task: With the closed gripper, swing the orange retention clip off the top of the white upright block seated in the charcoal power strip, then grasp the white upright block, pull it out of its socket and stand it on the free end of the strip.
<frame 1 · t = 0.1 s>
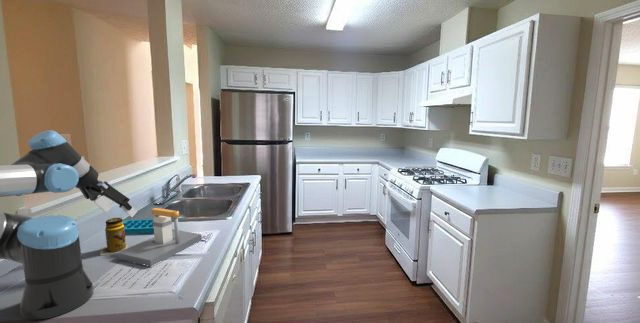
hand: (121, 212, 111), 15 cm above the counter, tool tilted 35°, fingers open, 13 cm apart
clip: (166, 225, 115), point 9 cm above the counter, hinge at 0.0°
power strip: (162, 248, 115), on the counter
condiment: (114, 250, 114), on the counter
white upright block: (164, 246, 117), resting in power strip
ice cube tray: (143, 230, 134), on the counter
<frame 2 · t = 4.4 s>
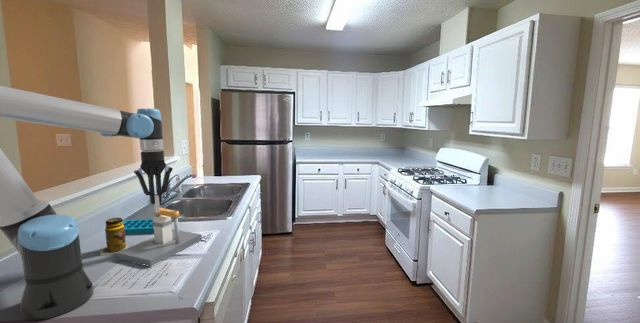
hand: (157, 211, 114), 15 cm above the counter, tool pointing down, fingers closed
clip: (167, 225, 115), point 9 cm above the counter, hinge at -5.0°, touching gripper
everything else where it was.
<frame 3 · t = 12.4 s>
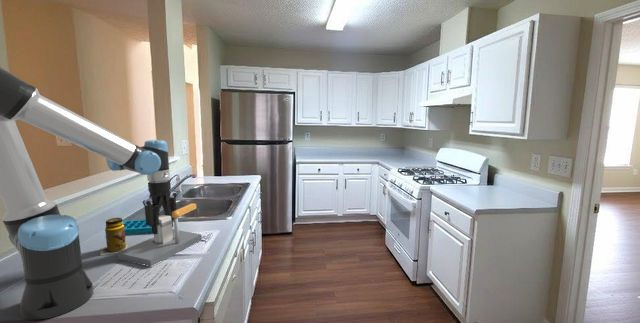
hand: (163, 238, 117), 3 cm above the counter, tool pointing down, fingers closed on white upright block, 5 cm apart
clip: (185, 222, 118), point 9 cm above the counter, hinge at -83.4°
white upright block: (164, 246, 117), resting in power strip, touching gripper
everything else where it was.
when the fingers open (7 cm above the counter, at t = 17.4 s): white upright block drops 1 cm, resting on power strip.
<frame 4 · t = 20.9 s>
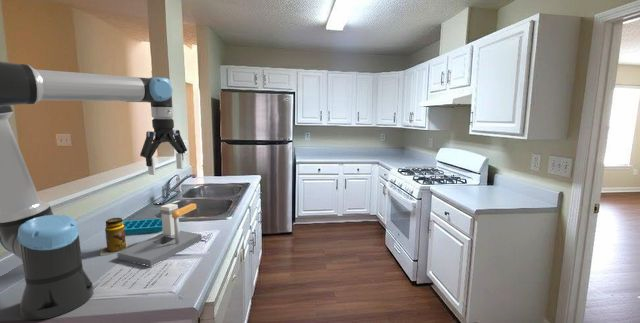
hand: (166, 171, 120), 29 cm above the counter, tool pointing down, fingers open, 13 cm apart
white upright block: (171, 233, 124), point 2 cm above the counter, touching power strip
everything else where it was.
at the end: clip at -83° (first picture: +0°); white upright block inside the target area (0.2 cm from its centre), point 2.5 cm above the counter; white upright block tilted 0° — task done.
